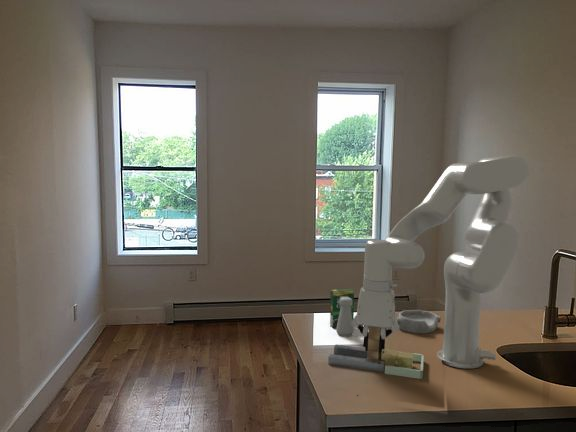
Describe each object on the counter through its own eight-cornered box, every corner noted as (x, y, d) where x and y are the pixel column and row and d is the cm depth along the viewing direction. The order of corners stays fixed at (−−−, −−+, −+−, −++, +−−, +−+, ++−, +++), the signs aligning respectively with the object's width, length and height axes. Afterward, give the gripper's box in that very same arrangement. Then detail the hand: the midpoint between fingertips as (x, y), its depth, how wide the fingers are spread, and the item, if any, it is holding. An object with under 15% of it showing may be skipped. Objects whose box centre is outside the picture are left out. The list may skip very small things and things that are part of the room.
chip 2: (412, 367, 129) (413, 353, 129) (411, 373, 126) (412, 358, 125) (397, 365, 131) (398, 351, 130) (396, 370, 127) (397, 356, 127)
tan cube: (396, 364, 131) (398, 350, 130) (394, 370, 127) (396, 356, 126) (381, 361, 132) (383, 347, 131) (380, 366, 128) (381, 352, 128)
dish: (442, 327, 167) (443, 313, 167) (431, 338, 155) (432, 323, 155) (402, 319, 175) (403, 306, 174) (389, 329, 163) (389, 315, 163)
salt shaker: (353, 340, 151) (354, 300, 150) (335, 338, 152) (336, 299, 151) (354, 334, 157) (355, 296, 155) (337, 333, 158) (338, 295, 157)
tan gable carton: (379, 357, 132) (381, 322, 131) (377, 363, 128) (379, 327, 127) (369, 355, 133) (370, 321, 132) (366, 361, 129) (368, 325, 128)
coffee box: (331, 328, 162) (332, 291, 161) (329, 325, 165) (330, 289, 164) (353, 327, 164) (355, 290, 163) (350, 324, 167) (352, 288, 166)
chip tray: (423, 364, 133) (423, 354, 133) (422, 382, 121) (422, 371, 121) (388, 360, 136) (389, 350, 135) (384, 377, 124) (385, 366, 124)
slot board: (386, 361, 135) (387, 351, 134) (383, 375, 125) (383, 364, 125) (335, 354, 139) (335, 344, 139) (328, 367, 130) (328, 356, 129)
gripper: (408, 285, 130) (404, 350, 131) (349, 279, 135) (346, 342, 136) (407, 291, 123) (403, 359, 124) (345, 285, 127) (342, 351, 129)
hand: (373, 349), depth 130 cm, fingers closed on tan gable carton, 3 cm apart
